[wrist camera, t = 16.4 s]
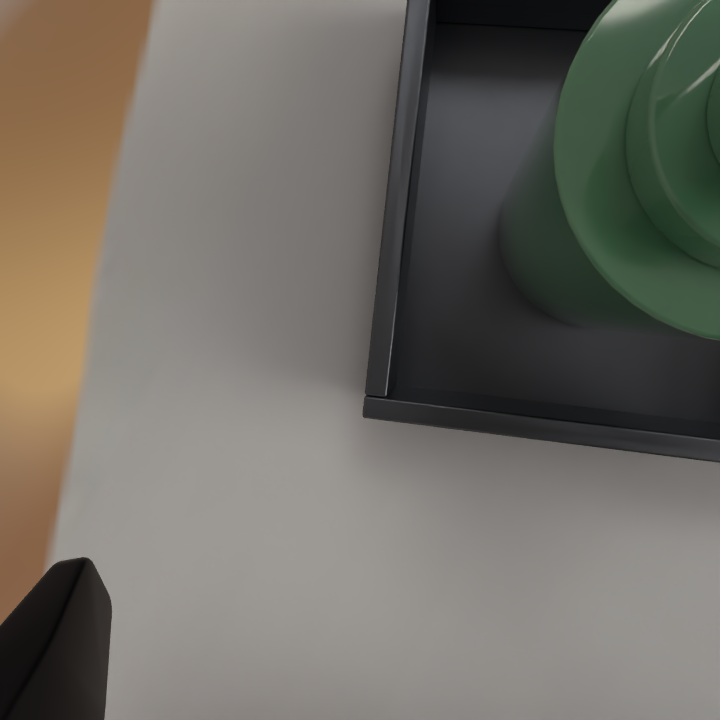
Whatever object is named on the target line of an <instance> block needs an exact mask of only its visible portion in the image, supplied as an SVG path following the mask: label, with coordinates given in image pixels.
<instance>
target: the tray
mask: <svg viewBox="0 0 720 720" xmlns="http://www.w3.org/2000/svg"><path fill="white" fill-rule="evenodd" d="M611 1H612V0H407V7H406V17H405V26H404V35H403V44H402V54H401V63H400V72H399V81H398V91H397V100H396V109H395V119H394V128H393V137H392V146H391V156H390V165H389V174H388V183H387V193H386V202H385V211H384V220H383V230H382V239H381V248H380V258H379V267H378V276H377V285H376V295H375V304H374V313H373V322H372V332H371V341H370V350H369V359H368V369H367V378H366V387H365V394H366V396H365V398H364V406H363V417H364V418H370V419H378V420H386V421H394V422H401V423H409V424H417V425H425V426H433V427H441V428H449V429H457V430H465V431H473V432H481V433H489V434H497V435H505V436H512V437H520V438H528V439H536V440H544V441H552V442H560V443H568V444H576V445H584V446H592V447H600V448H608V449H615V450H623V451H631V452H639V453H647V454H655V455H663V456H671V457H679V458H687V459H695V460H703V461H711V462H719V463H720V342H719V341H709V340H699V339H689V338H679V337H669V336H659V335H649V334H640V333H630V332H620V331H610V330H600V329H590V328H583V327H577V326H572V325H569V324H566V323H563V322H560V321H558V320H556V319H554V318H551V317H549V316H547V315H546V314H544V313H543V312H541V311H540V310H538V309H537V308H535V307H534V306H533V305H532V304H531V303H530V302H528V301H527V300H526V299H525V297H524V296H523V295H522V294H521V293H520V292H519V291H518V289H517V288H516V286H515V285H514V283H513V282H512V281H511V279H510V277H509V275H508V273H507V271H506V269H505V266H504V263H503V260H502V257H501V253H500V248H499V242H498V219H499V213H500V208H501V203H502V201H503V198H504V195H505V192H506V190H507V188H508V186H509V184H510V181H511V179H512V177H513V176H514V174H515V172H516V170H517V168H518V166H519V164H520V162H521V160H522V158H523V156H524V154H525V152H526V150H527V148H528V146H529V144H530V142H531V140H532V138H533V136H534V134H535V132H536V130H537V129H538V127H539V125H540V123H541V121H542V119H543V117H544V115H545V113H546V111H547V109H548V107H549V105H550V103H551V101H552V99H553V97H554V95H555V93H556V91H557V89H558V87H559V85H560V83H561V82H562V80H563V78H564V76H565V74H566V72H567V70H568V68H569V66H570V64H571V62H572V60H573V58H574V56H575V54H576V52H577V50H578V48H579V46H580V44H581V42H582V41H583V39H584V38H585V36H586V35H587V33H588V32H589V30H590V28H591V27H592V25H593V24H594V22H595V21H596V19H597V18H598V17H599V15H600V14H601V13H602V12H603V11H604V10H605V8H606V7H607V6H608V5H609V4H610V2H611Z"/></svg>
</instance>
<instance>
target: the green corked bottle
mask: <svg viewBox="0 0 720 720" xmlns="http://www.w3.org/2000/svg"><path fill="white" fill-rule="evenodd" d="M498 242H499V248H500V253H501V257H502V260H503V263H504V266H505V269H506V271H507V273H508V275H509V277H510V279H511V281H512V282H513V283H514V285H515V286H516V288H517V289H518V291H519V292H520V293H521V294H522V295H523V296H524V297H525V299H526V300H527V301H528V302H530V303H531V304H532V305H533V306H534V307H535V308H537V309H538V310H540V311H541V312H543V313H544V314H546V315H547V316H549V317H551V318H554V319H556V320H558V321H560V322H563V323H566V324H569V325H572V326H577V327H583V328H590V329H600V330H610V331H620V332H630V333H640V334H649V335H659V336H669V337H679V338H689V339H699V340H709V341H719V342H720V0H612V1H611V2H610V4H609V5H608V6H607V7H606V8H605V10H604V11H603V12H602V13H601V14H600V15H599V17H598V18H597V19H596V21H595V22H594V24H593V25H592V27H591V28H590V30H589V32H588V33H587V35H586V36H585V38H584V39H583V41H582V42H581V44H580V46H579V48H578V50H577V52H576V54H575V56H574V58H573V60H572V62H571V64H570V66H569V68H568V70H567V72H566V74H565V76H564V78H563V80H562V82H561V83H560V85H559V87H558V89H557V91H556V93H555V95H554V97H553V99H552V101H551V103H550V105H549V107H548V109H547V111H546V113H545V115H544V117H543V119H542V121H541V123H540V125H539V127H538V129H537V130H536V132H535V134H534V136H533V138H532V140H531V142H530V144H529V146H528V148H527V150H526V152H525V154H524V156H523V158H522V160H521V162H520V164H519V166H518V168H517V170H516V172H515V174H514V176H513V177H512V179H511V181H510V184H509V186H508V188H507V190H506V192H505V195H504V198H503V201H502V203H501V208H500V213H499V219H498Z"/></svg>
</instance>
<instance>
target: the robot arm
mask: <svg viewBox="0 0 720 720" xmlns="http://www.w3.org/2000/svg"><path fill="white" fill-rule="evenodd" d="M111 619H112V605H111V600H110V596H109V594H108V592H107V590H106V588H105V586H104V584H103V581H102V579H101V577H100V575H99V573H98V571H97V569H96V567H95V565H94V564H93V562H92V561H91V560H90V559H89V558H86V557H81V558H76V559H70V560H64V561H60V562H57V563H56V564H54V565H53V566H52V567H51V568H50V569H49V570H48V571H47V573H46V574H45V575H44V576H43V577H42V578H41V579H40V581H39V582H38V583H37V584H36V585H35V586H34V588H33V589H32V590H31V591H30V592H29V593H28V595H27V596H26V597H25V598H24V599H23V600H22V601H21V602H20V604H19V605H18V606H17V607H16V608H15V609H14V611H13V612H12V613H11V614H10V615H9V616H8V617H7V619H6V620H5V621H4V622H3V623H2V624H1V625H0V720H104V717H105V706H106V691H107V677H108V662H109V648H110V634H111Z"/></svg>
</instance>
